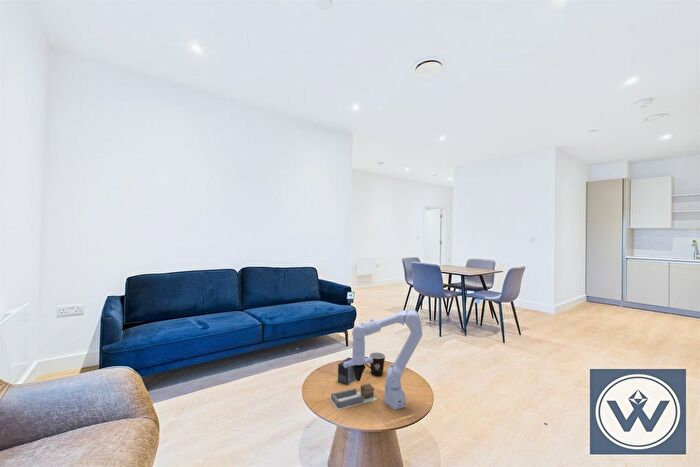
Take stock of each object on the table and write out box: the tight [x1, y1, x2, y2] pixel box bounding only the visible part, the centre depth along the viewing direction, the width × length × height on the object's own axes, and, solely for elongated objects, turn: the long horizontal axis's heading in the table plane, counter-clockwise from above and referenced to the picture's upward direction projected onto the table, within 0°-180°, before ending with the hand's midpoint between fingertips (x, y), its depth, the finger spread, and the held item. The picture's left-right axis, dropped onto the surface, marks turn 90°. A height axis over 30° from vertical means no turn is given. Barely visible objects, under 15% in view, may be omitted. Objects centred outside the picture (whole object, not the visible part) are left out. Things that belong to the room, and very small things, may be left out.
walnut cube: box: [360, 382, 375, 399], centre depth 141 cm, size 4×4×4 cm
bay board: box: [329, 388, 378, 410], centre depth 138 cm, size 9×20×4 cm, turn 116°
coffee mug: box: [364, 352, 386, 377], centre depth 167 cm, size 12×9×10 cm
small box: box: [337, 357, 356, 386], centre depth 157 cm, size 11×6×10 cm, turn 149°
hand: (357, 380), depth 139 cm, fingers closed
